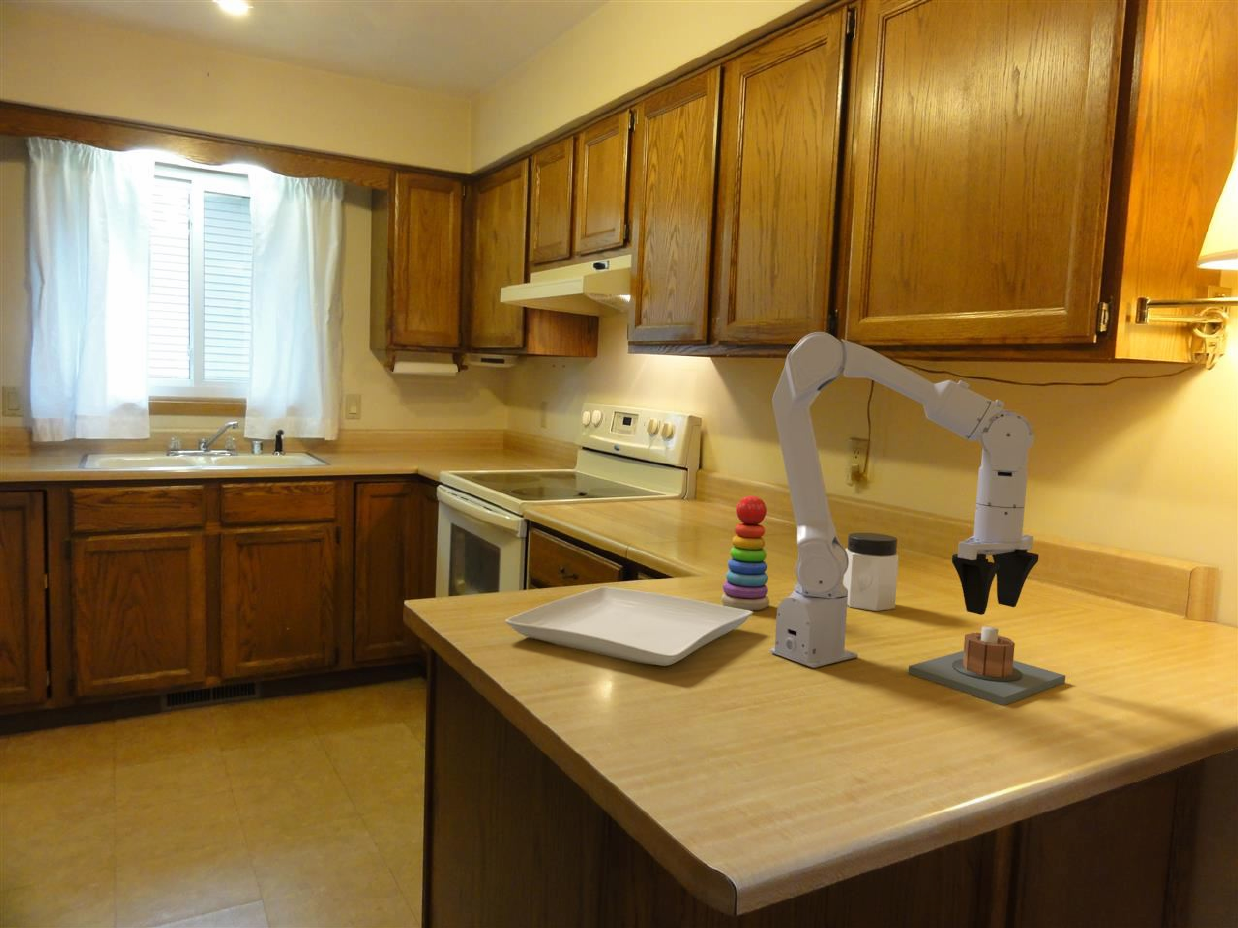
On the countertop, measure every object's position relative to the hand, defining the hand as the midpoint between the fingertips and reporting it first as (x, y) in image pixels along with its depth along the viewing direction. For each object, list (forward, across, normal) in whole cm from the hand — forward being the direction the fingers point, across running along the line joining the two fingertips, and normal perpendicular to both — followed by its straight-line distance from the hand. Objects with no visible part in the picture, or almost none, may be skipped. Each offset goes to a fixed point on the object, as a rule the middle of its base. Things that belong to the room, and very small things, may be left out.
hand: (991, 608), depth 109 cm
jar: (+10, +18, +32) cm, 38 cm away
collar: (+8, 0, 0) cm, 8 cm away
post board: (+9, 0, 0) cm, 9 cm away
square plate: (+10, -29, +38) cm, 49 cm away
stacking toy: (+10, -2, +42) cm, 43 cm away
